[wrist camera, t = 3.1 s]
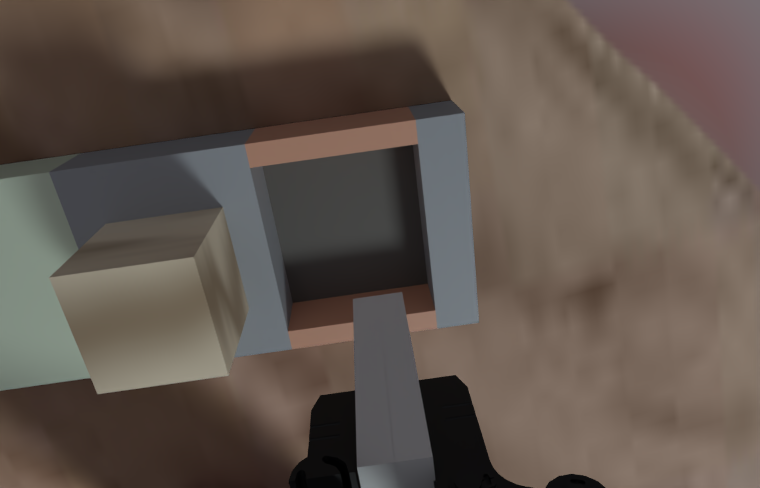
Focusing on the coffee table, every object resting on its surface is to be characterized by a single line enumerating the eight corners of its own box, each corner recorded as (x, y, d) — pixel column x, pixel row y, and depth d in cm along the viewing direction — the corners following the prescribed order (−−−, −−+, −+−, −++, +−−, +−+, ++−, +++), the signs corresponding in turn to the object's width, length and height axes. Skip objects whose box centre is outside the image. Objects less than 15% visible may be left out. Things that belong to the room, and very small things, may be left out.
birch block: (249, 308, 26) (228, 375, 21) (141, 323, 26) (97, 394, 21) (222, 207, 24) (193, 256, 19) (105, 223, 24) (48, 277, 19)
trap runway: (466, 292, 30) (478, 322, 27) (-175, 383, 30) (-228, 423, 27) (451, 100, 26) (464, 112, 23) (-291, 206, 26) (-367, 231, 23)
